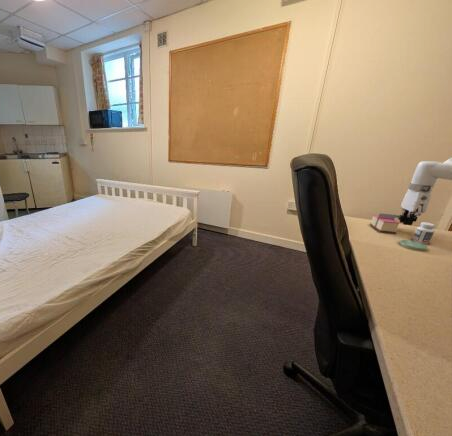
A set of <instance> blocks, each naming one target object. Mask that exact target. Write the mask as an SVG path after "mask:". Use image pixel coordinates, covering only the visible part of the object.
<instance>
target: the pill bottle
mask: <svg viewBox="0 0 452 436" xmlns="http://www.w3.org/2000/svg"><path fill="white" fill-rule="evenodd" d="M434 228H435V224H434V223H430V222H426V221H425V222H424V221H422V222H421V223H420V226H418V227H417V228H416V230H415V232H414V234H413V237H412V241H415V242H418V243H421V244H424V245H429V244H430V243H431V240H432V238H433V236H434V234H435V229H434Z"/></svg>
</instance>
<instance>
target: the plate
mask: <svg viewBox="0 0 452 436" xmlns="http://www.w3.org/2000/svg"><path fill="white" fill-rule="evenodd" d="M399 245H401V247H404V248H407V249H410V250H414V251H419V252H425V251H427V249H428V246H427V244H423V243H418V242H415V241H413V240H408V239H402V240H400V242H399Z"/></svg>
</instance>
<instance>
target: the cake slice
mask: <svg viewBox="0 0 452 436" xmlns="http://www.w3.org/2000/svg"><path fill="white" fill-rule="evenodd" d="M378 217H379V214H373V216H372V219H371V221H370V223H371V224H372V225H374V226H377V219H378Z"/></svg>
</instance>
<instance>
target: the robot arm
mask: <svg viewBox="0 0 452 436" xmlns="http://www.w3.org/2000/svg"><path fill="white" fill-rule="evenodd" d="M438 179H441V180H448V181H452V157H450V158H449V159H447V160H445V161H443V162H440V161H434V160H432V161H431V160H423V161H420V162H418V163H417V166H416V167H415V170H414V173H413V175H412V178H411V180H410V183H409V186H408V188H407V191H406V193H405V195H404V197H403V199H402V201H401V204H400V207H401V210H402V212H401V215H407V217H405V220H404V221H402V220H399V224H400V223H402V225H404V226H412V225H413V224H414V222H413V221H414V219H415V218H416V217H419V216H422V214H424V213H426V212H427V209H428V207H429V204H430V201H431V197H432V192H433V189H434V187H435V184H436V182H437V180H438Z"/></svg>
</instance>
